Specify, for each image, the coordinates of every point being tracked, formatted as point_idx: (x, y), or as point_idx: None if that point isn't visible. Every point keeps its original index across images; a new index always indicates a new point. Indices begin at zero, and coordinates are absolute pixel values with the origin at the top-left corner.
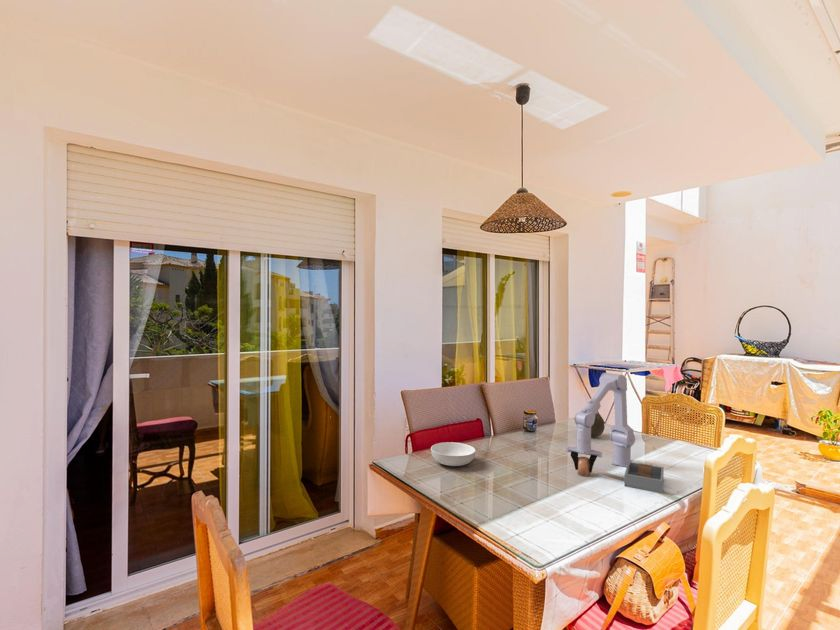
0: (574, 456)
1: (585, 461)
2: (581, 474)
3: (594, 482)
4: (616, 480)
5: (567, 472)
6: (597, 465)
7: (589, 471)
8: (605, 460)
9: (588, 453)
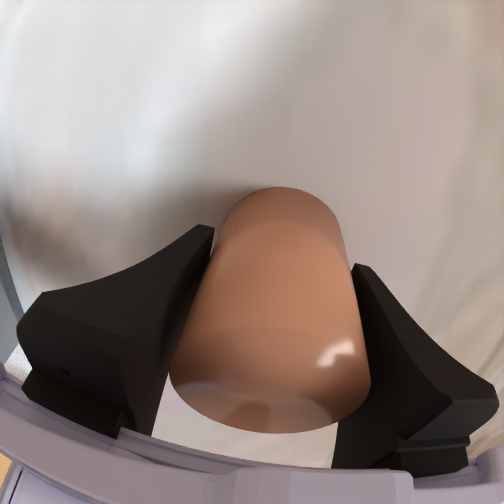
0: (454, 386)
1: (246, 311)
2: (310, 200)
3: (175, 39)
4: (26, 188)
5: (430, 253)
6: (180, 400)
7: (214, 247)
8: (157, 434)
9: (121, 467)
